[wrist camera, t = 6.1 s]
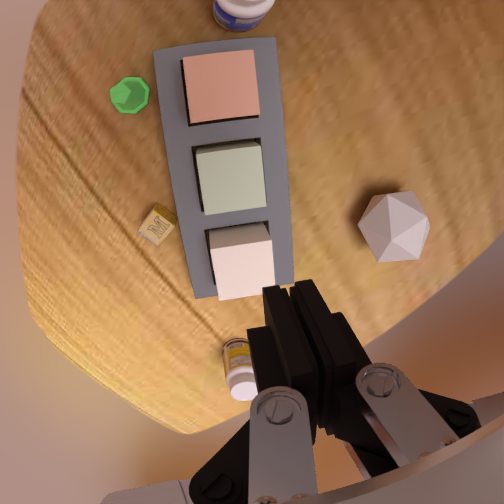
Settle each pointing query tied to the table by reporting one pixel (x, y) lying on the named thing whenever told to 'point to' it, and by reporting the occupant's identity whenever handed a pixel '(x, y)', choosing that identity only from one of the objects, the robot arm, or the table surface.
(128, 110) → the game piece
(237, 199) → the green block
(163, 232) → the alphabet block
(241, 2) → the pill bottle
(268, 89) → the board
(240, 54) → the terracotta block
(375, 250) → the die
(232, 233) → the cream block
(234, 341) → the supplement bottle
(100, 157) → the table surface
